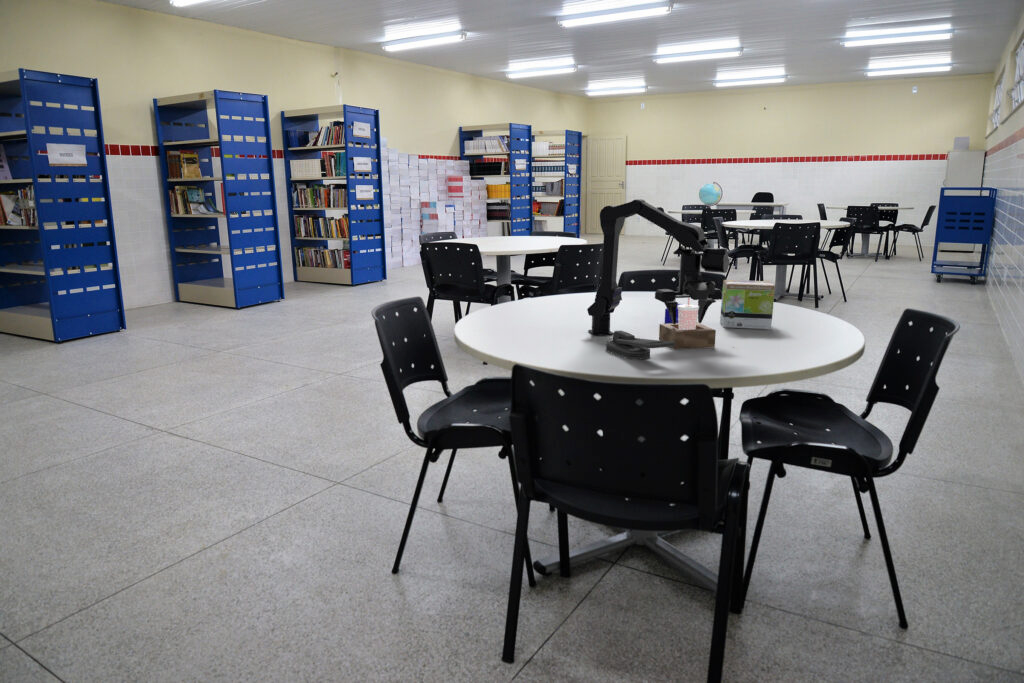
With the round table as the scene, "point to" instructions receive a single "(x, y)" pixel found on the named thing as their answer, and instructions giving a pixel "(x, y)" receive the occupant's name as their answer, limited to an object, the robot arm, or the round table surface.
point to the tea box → (747, 304)
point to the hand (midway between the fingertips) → (687, 323)
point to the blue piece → (667, 315)
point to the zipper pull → (633, 345)
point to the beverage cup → (687, 316)
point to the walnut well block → (687, 336)
